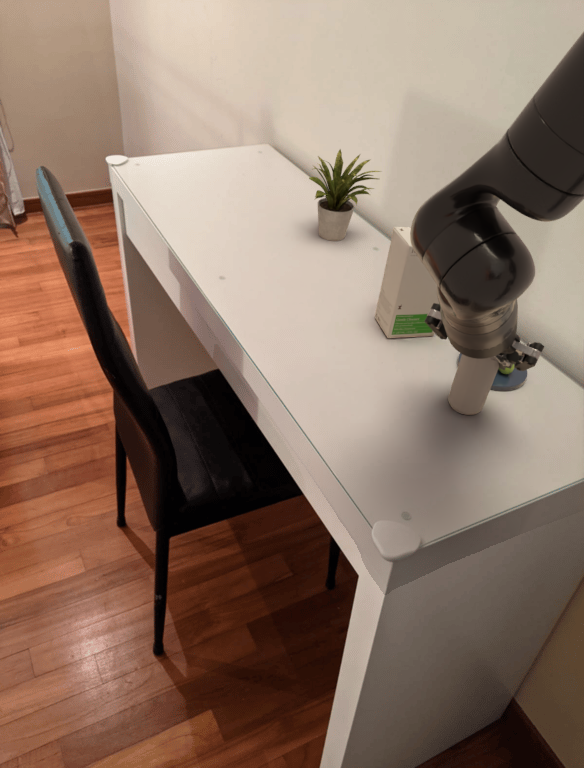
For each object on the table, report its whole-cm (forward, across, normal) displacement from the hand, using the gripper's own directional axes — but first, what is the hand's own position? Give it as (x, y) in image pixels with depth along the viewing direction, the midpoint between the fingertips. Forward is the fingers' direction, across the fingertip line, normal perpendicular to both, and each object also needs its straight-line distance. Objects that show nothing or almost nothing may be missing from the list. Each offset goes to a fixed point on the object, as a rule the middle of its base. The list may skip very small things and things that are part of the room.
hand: (485, 353), depth 79 cm
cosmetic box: (+13, +15, -2) cm, 20 cm away
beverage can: (+4, 0, +7) cm, 8 cm away
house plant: (+26, +40, -15) cm, 50 cm away
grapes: (+11, 0, -1) cm, 11 cm away
